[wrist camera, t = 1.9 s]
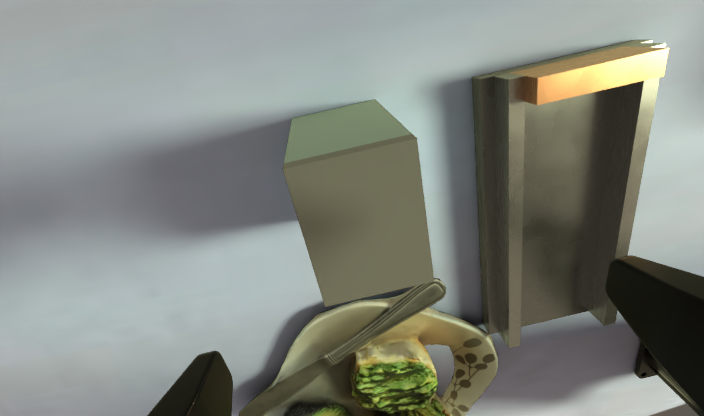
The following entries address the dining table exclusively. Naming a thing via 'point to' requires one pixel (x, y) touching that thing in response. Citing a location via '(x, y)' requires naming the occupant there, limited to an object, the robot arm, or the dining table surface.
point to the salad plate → (380, 361)
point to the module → (359, 201)
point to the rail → (560, 179)
